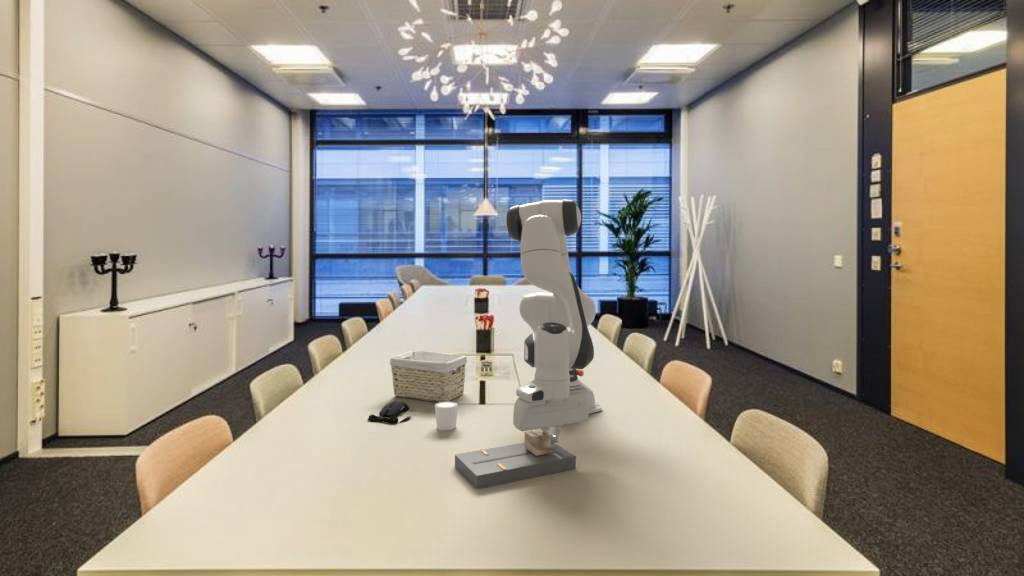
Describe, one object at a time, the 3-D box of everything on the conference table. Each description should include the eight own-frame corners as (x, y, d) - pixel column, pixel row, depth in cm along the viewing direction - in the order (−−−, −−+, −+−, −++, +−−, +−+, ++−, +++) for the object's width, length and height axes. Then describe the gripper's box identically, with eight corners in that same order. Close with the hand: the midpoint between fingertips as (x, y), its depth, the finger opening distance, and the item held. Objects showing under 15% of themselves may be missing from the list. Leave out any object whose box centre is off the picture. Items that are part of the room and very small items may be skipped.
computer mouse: (428, 411, 182) (428, 400, 182) (397, 427, 166) (397, 414, 166) (397, 407, 187) (397, 395, 186) (364, 422, 171) (364, 409, 171)
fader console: (547, 449, 147) (547, 437, 146) (575, 468, 134) (575, 455, 134) (454, 466, 135) (454, 453, 135) (476, 488, 123) (476, 474, 122)
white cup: (453, 431, 161) (453, 408, 160) (431, 430, 162) (431, 406, 161) (460, 424, 167) (460, 401, 167) (439, 423, 169) (439, 400, 168)
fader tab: (538, 445, 141) (538, 429, 140) (550, 453, 135) (550, 436, 135) (524, 447, 139) (524, 431, 139) (536, 455, 134) (536, 438, 133)
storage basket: (469, 393, 203) (468, 354, 202) (447, 405, 188) (446, 362, 187) (413, 387, 212) (413, 349, 211) (388, 397, 197) (387, 357, 196)
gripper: (579, 381, 145) (579, 432, 146) (510, 390, 136) (510, 444, 137) (593, 386, 139) (593, 440, 140) (522, 396, 130) (521, 453, 131)
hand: (551, 442), depth 139 cm, fingers closed
